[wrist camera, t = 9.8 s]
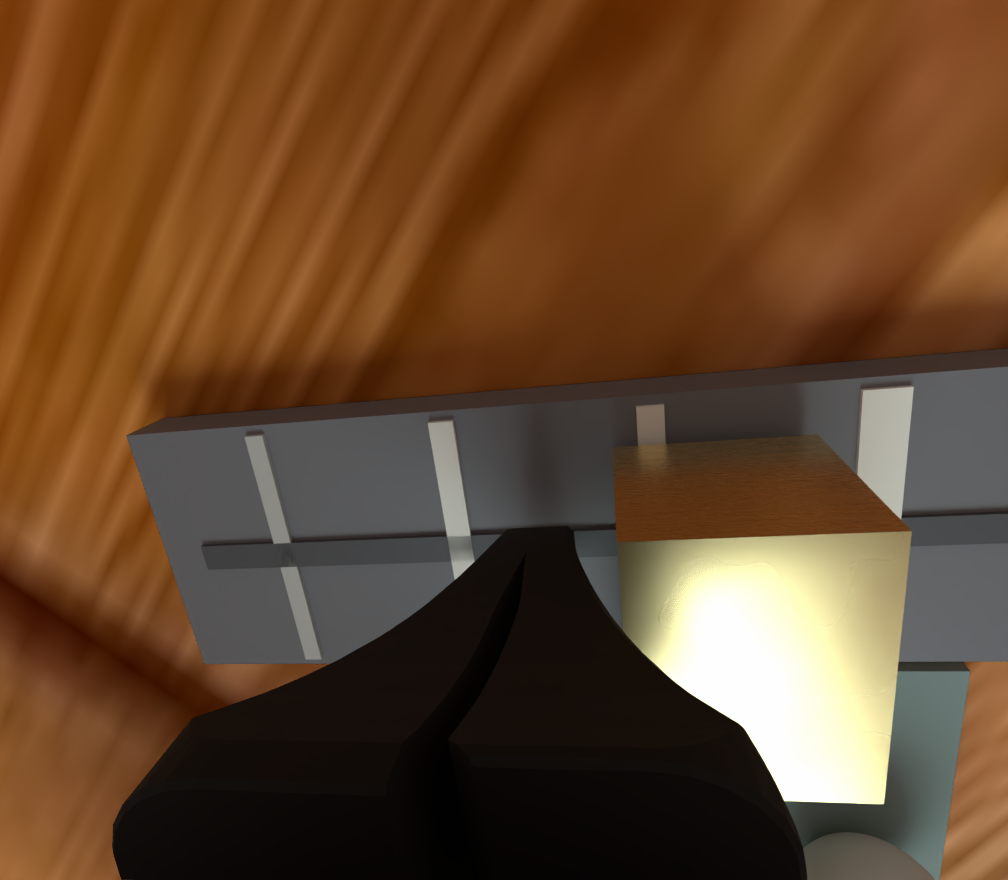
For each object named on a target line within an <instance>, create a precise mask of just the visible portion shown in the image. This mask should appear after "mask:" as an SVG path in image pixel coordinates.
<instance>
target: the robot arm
mask: <svg viewBox="0 0 1008 880" xmlns="http://www.w3.org/2000/svg"><path fill="white" fill-rule="evenodd" d="M112 848H113V854H114V857H115V861H116V864H117V867H118V871H119V874H120V877H121V879H122V880H807V870H806V862H805V856H804V850H803V846H802V843H801V840H800V837H799V834H798V831H797V828H796V826H795V823H794V821H793V819H792V816H791V814H790V812H789V810H788V807H787V805H786V803H785V801H784V799H783V797H782V795H781V792H780V790H779V788H778V786H777V784H776V782H775V780H774V779H773V777H772V775H771V773H770V771H769V769H768V767H767V766H766V764H765V762H764V760H763V759H762V757H761V755H760V753H759V752H758V750H757V748H756V747H755V745H754V743H753V742H752V740H751V738H750V737H749V735H748V733H747V732H746V730H745V729H744V728H743V727H742V726H741V725H740V724H739V723H737V722H735V721H734V720H732V719H731V718H729V717H727V716H726V715H724V714H722V713H721V712H719V711H718V710H716V709H714V708H713V707H711V706H709V705H708V704H706V703H705V702H703V701H701V700H700V699H698V698H696V697H695V696H693V695H692V694H690V693H689V692H688V691H686V690H685V689H684V688H682V687H681V686H680V685H678V684H677V683H676V682H674V681H673V680H672V679H671V678H670V677H669V676H667V675H666V674H665V673H664V672H663V671H662V670H661V669H660V668H659V667H658V666H657V665H655V664H654V663H653V662H652V661H651V660H650V659H649V658H648V657H647V656H646V655H644V654H643V653H642V652H641V650H640V649H639V648H638V647H637V646H636V645H635V644H634V643H633V642H632V641H631V639H630V638H629V637H628V636H627V635H626V634H625V633H624V631H623V630H622V629H621V628H620V626H619V625H618V624H617V623H616V621H615V620H614V619H613V617H612V616H611V615H610V613H609V612H608V610H607V609H606V608H605V606H604V604H603V603H602V601H601V600H600V598H599V597H598V595H597V594H596V592H595V590H594V588H593V587H592V585H591V583H590V581H589V579H588V577H587V575H586V573H585V571H584V569H583V567H582V565H581V563H580V560H579V558H578V555H577V552H576V546H575V536H574V531H573V530H572V529H570V528H569V527H568V526H557V527H534V528H512V529H507V530H506V531H505V532H504V533H503V534H502V535H501V536H500V537H499V538H498V539H497V540H496V541H495V542H494V543H493V544H492V545H491V546H490V547H489V548H488V549H487V550H486V551H485V552H484V553H483V554H482V555H481V556H480V557H479V558H478V559H477V560H476V561H475V562H474V563H472V564H471V565H470V566H469V567H468V568H467V569H466V570H465V571H464V572H463V573H462V574H461V575H460V576H459V577H458V578H457V579H455V580H454V581H453V582H452V583H451V584H449V585H448V586H447V587H446V588H445V589H444V590H442V591H441V592H440V593H439V594H438V595H437V596H435V597H434V598H433V599H432V600H431V601H429V602H428V603H427V604H426V605H424V606H423V607H422V608H421V609H419V610H418V611H417V612H415V613H414V614H412V615H411V616H410V617H408V618H407V619H405V620H404V621H402V622H401V623H399V624H398V625H396V626H395V627H394V628H392V629H391V630H389V631H388V632H386V633H384V634H383V635H381V636H380V637H378V638H376V639H374V640H373V641H371V642H369V643H367V644H366V645H364V646H362V647H360V648H358V649H357V650H355V651H353V652H351V653H349V654H348V655H346V656H344V657H342V658H341V659H339V660H337V661H335V662H333V663H331V664H329V665H327V666H325V667H323V668H321V669H319V670H317V671H314V672H312V673H310V674H308V675H306V676H304V677H301V678H299V679H297V680H294V681H292V682H290V683H288V684H285V685H283V686H281V687H278V688H276V689H273V690H271V691H268V692H266V693H263V694H260V695H258V696H255V697H252V698H249V699H246V700H244V701H241V702H238V703H235V704H232V705H229V706H227V707H224V708H221V709H218V710H215V711H212V712H210V713H207V714H203V715H200V716H197V717H194V718H193V719H192V720H191V721H190V722H189V723H188V725H187V726H186V727H185V728H184V729H183V731H182V732H181V733H180V734H179V736H178V737H177V738H176V739H175V741H174V742H173V743H172V744H171V745H170V747H169V748H168V749H167V750H166V752H165V753H164V754H163V755H162V757H161V758H160V759H159V760H158V762H157V763H156V764H155V765H154V767H153V768H152V769H151V770H150V772H149V773H148V774H147V775H146V777H145V778H144V779H143V780H142V781H141V783H140V784H139V785H138V786H137V788H136V789H135V790H134V791H133V793H132V794H131V795H130V796H129V798H128V799H127V800H126V801H125V803H124V804H123V805H122V807H121V809H120V811H119V813H118V815H117V818H116V820H115V822H114V824H113V842H112Z"/></svg>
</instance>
